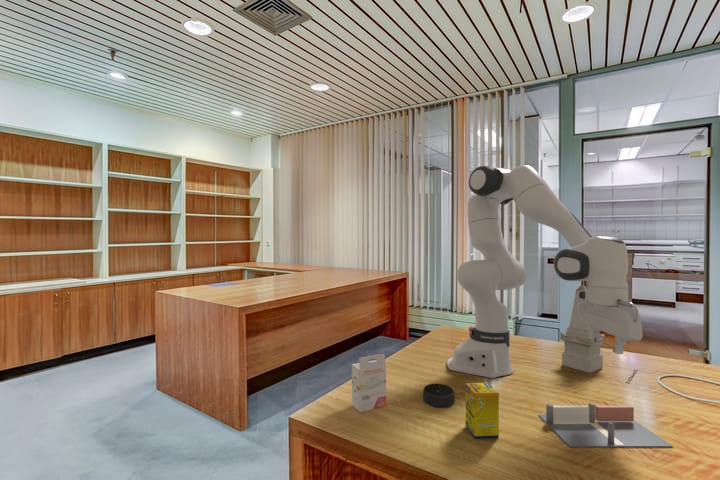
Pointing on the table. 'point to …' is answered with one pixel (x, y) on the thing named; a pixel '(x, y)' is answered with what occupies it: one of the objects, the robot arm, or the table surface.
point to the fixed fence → (575, 416)
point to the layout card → (606, 434)
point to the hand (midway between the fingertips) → (607, 348)
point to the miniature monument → (580, 343)
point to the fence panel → (614, 413)
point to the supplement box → (482, 410)
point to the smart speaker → (438, 395)
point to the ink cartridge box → (369, 383)
